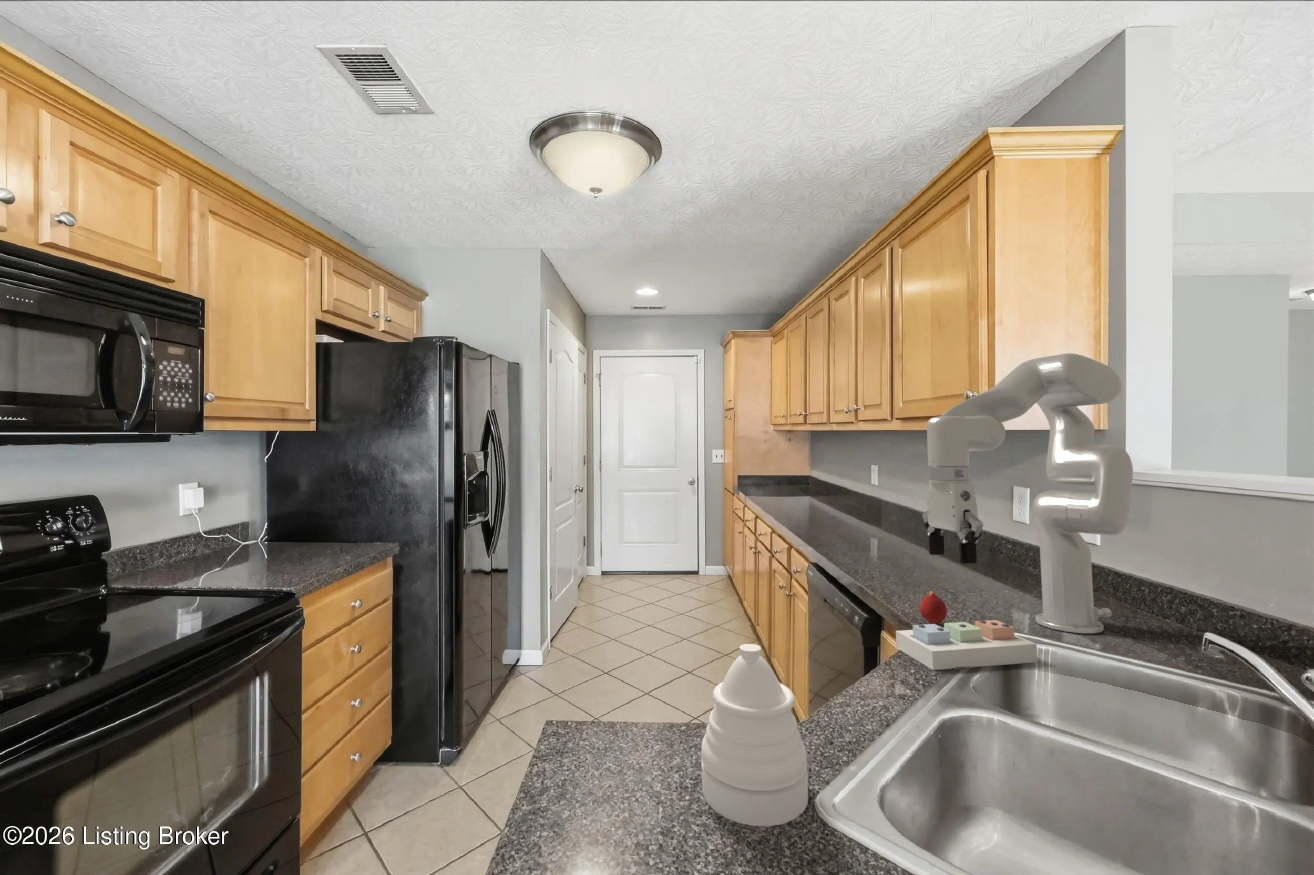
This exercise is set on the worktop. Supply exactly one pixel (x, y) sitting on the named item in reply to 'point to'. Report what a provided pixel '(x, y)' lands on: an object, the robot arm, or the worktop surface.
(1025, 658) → the key board
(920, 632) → the key two
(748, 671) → the honey pot
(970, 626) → the key one
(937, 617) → the onion
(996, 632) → the key three
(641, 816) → the worktop surface
